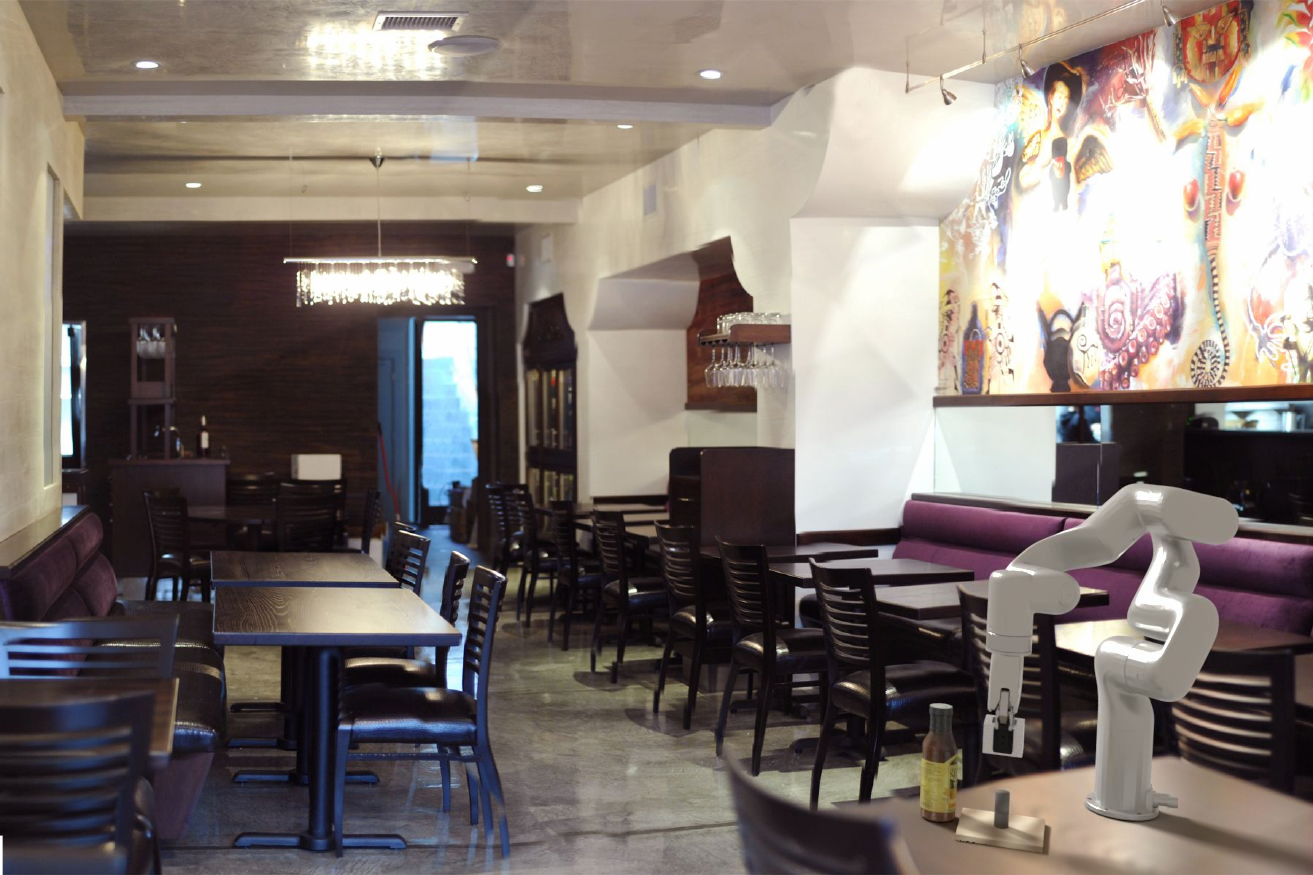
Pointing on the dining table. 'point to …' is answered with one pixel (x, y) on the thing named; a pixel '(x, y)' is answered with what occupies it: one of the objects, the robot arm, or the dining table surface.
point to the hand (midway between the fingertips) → (1003, 746)
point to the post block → (1001, 827)
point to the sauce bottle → (939, 767)
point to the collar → (1017, 736)
